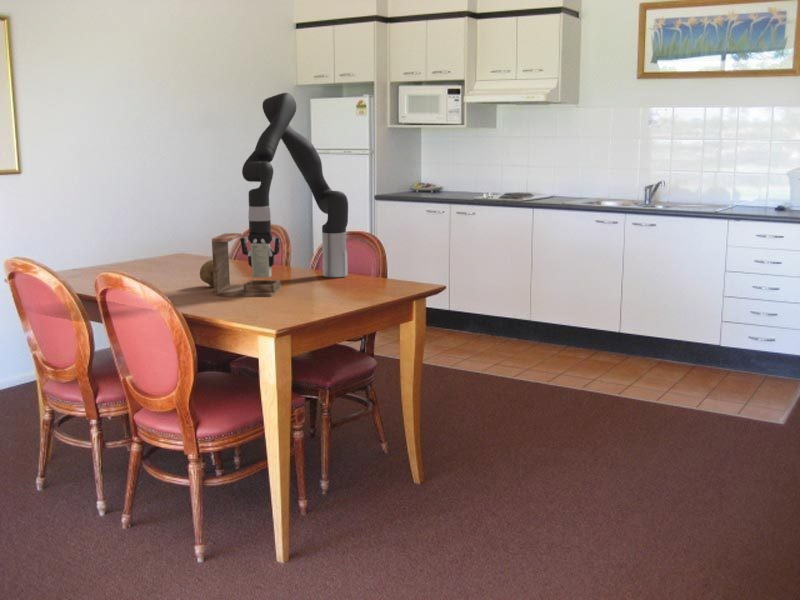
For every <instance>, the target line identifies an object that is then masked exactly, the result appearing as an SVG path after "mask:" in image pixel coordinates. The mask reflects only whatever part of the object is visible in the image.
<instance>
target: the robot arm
mask: <svg viewBox="0 0 800 600" xmlns="http://www.w3.org/2000/svg"><path fill="white" fill-rule="evenodd" d="M262 110H263V113H264V116H265V118H266V119H267V121H268V122H269V125H268V126H267V127H266V128H265V129H264V131H262V133H261V134H260V136H259V138H258V140H257V143H256V145H255V149H254V150H253V152H252V153H251V154H250V155H249V156H248V158H247V159H246V160H245V161H244V163H243V166H242V167H241V168H242V169H241V170H242V171H241V174H242V177H243V179H244V180H245V181H246V182H250V183H251V182H252V183H255V182H256V183H259V184H260V185H259V186H258V187H257V188H252V189H250V190H249V191H248V215H247V216H248V217H247V219H248V234H249V235H248V236H245V237H244V236H243V237H242V236H241V238H240V239H239V241H240V245H241V251H242V255H245V256H247V257H248V266H249V267H250V268H252V263H251V247H249V251H248V245H247V244H248V242H250V244H256V243H262V244H266V243H268V244H270V247H268V254H269V267H271V268H272V267H273V266H274V265H275V256H276V255H278V254H279V253H280V246H281V245H280V244H281V237H279V236H277V237H275V236H272V226H271V224H272V223H271V209H270V190H271V189H270V188H271V184H272V180H273V176H274V168H273V165H272V164H271V163H272V161H273V160H274V157H275V155H276V151H277V149H278V146H279V143H280V141H282V143H283V144H284V146H285V147H286V149H287V151H288V153H289V155H290V156H291V158H292V161H293V162H294V163H295V165H296V168H298V170H299V172H300V174H301V175H302V176H303V179H304V181H305V182H306V184H307V186H308V188H309V189H310V192H311V194H312V195H313V198H314V201H315V203H316V205H317V207H318V209H319V210H320V211H321V212H322V213H323V214H326V215H327V220H326V222H325V223H323V225H322V227H321V233H322V234H321V235H322V236H321V237H322V242H321V243H322V273H323V274H322V275H323V277H325V278H343V277H344V278H346V277H347V276H348V275H349V274H348V272H349V271H348V250H347V227H348V224H349V221H348V220H349V201H348V197H347V195H346V194H345V193H344V192H342V191H339V190H332V188H331V187H330V186H329V184H328V182H327V181H326V180H325V177H324V175H323V166H322V165H323V164H322V159H321V156H320V155H319V152H318V151H317V149H316V147H315V146H314V144H313V143H312V142H311V141H310V140H309V139H307V138H306V137H304V135H302V134H300V133H299V132H297V131H296V130H294V129H293V127H291V125H290V123H291V122H292V119H293V118H294V116H295V114H296V112H297V102H296V100H295V98H294V96H293V95H292V94H290V93H289V92H282V93H278V94H274V95H272V96H268V97H267V98H265V99H263V102H262ZM271 242H273V244H274V250H273V248H272V246H271Z"/></svg>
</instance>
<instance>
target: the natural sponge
mask: <svg viewBox="0 0 800 600" xmlns="http://www.w3.org/2000/svg"><path fill="white" fill-rule="evenodd" d="M199 277H200V279H201V280H200V281H202V282H204V283H206V284H208V286H210V287H211V288H214V275H213V259H211V260H208V261H206V262H204V263H203V264H202V266H201V267H200V270H199Z"/></svg>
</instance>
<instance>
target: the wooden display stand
mask: <svg viewBox="0 0 800 600" xmlns="http://www.w3.org/2000/svg"><path fill="white" fill-rule="evenodd" d="M240 237H241V238H242V233H241V232H240V233H237V232H236V233H234V232H233V233H230V232H229V233H228V232H227V233H222V234H220V235H218V236H215V237H212V238H211V249H212V260H213V275H214V287H213V289H214V291H213V294H214V296H215V295H218V296H217V297H273V296H274V295H275V294H277V293H278V292H279V291H280V290H282V285H281V280H280V279H251V280H249V281H247V282H246V283H245V284H243V285H231V278H230V256H229V242H232V241H234V240H236V239H238V238H240Z"/></svg>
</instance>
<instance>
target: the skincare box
mask: <svg viewBox="0 0 800 600" xmlns="http://www.w3.org/2000/svg"><path fill="white" fill-rule="evenodd" d="M249 246H250V247H251V263H252V267H251V276H252V278H253V279H255V278H258V279H259V278H260V279H261V278H262V279H265V278H268V279H269V278H271V277H272V276H273V275H272V267H269V254H268V247H270V246H271V243H270V244H268V243H266V244H262V243H256V244H251V243H250V245H249ZM250 247H249V248H250Z"/></svg>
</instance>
